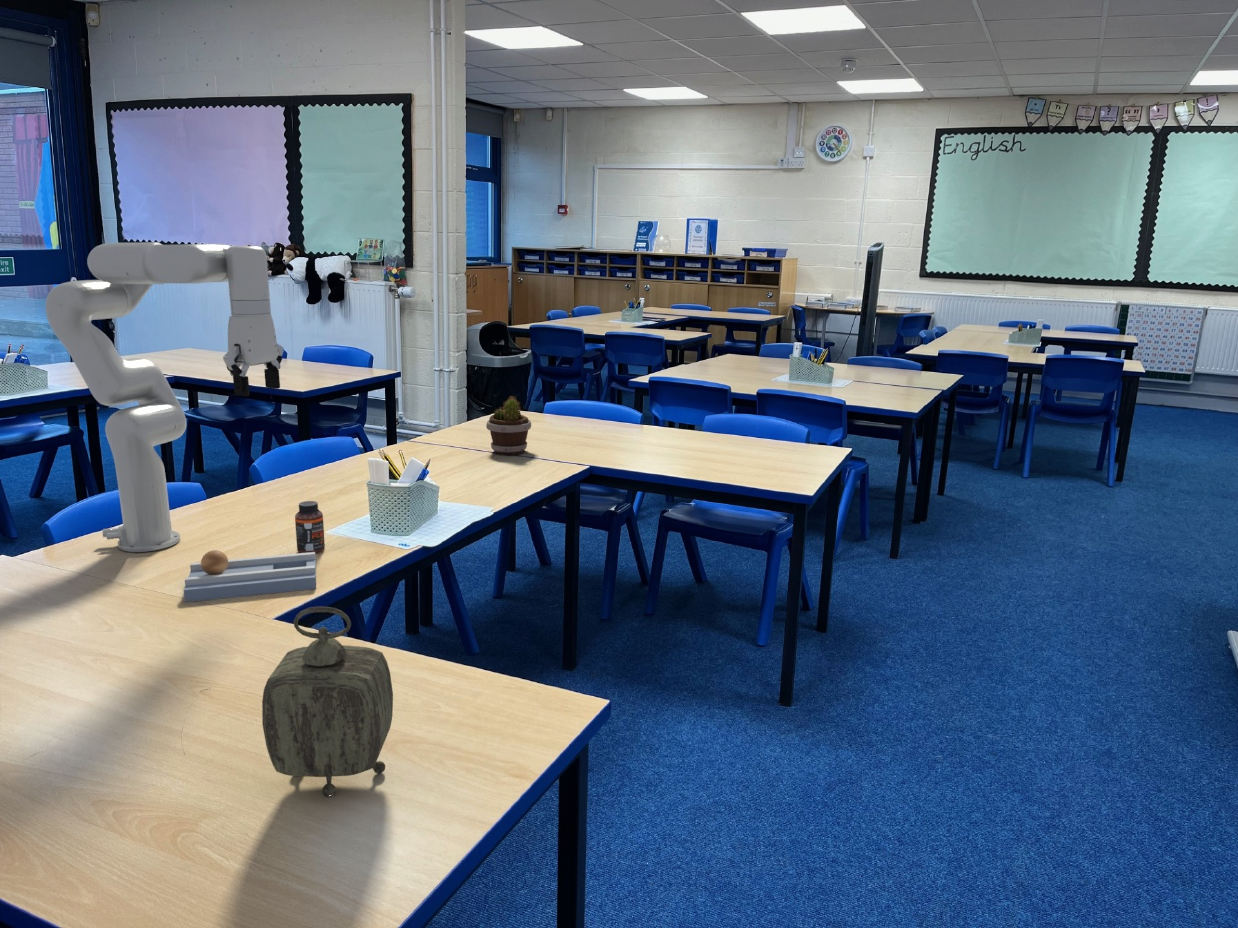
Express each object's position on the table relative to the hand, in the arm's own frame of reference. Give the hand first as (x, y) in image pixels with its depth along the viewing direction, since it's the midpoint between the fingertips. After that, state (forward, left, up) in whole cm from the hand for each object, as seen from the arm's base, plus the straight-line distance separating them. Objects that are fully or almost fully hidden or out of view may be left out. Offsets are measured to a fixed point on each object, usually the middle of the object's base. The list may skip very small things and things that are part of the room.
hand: (258, 391), depth 182 cm
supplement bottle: (+8, +4, -38) cm, 39 cm away
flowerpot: (+70, +84, -38) cm, 116 cm away
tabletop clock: (+11, -88, -38) cm, 97 cm away
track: (-3, -13, -37) cm, 39 cm away
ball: (-10, -13, -32) cm, 36 cm away
